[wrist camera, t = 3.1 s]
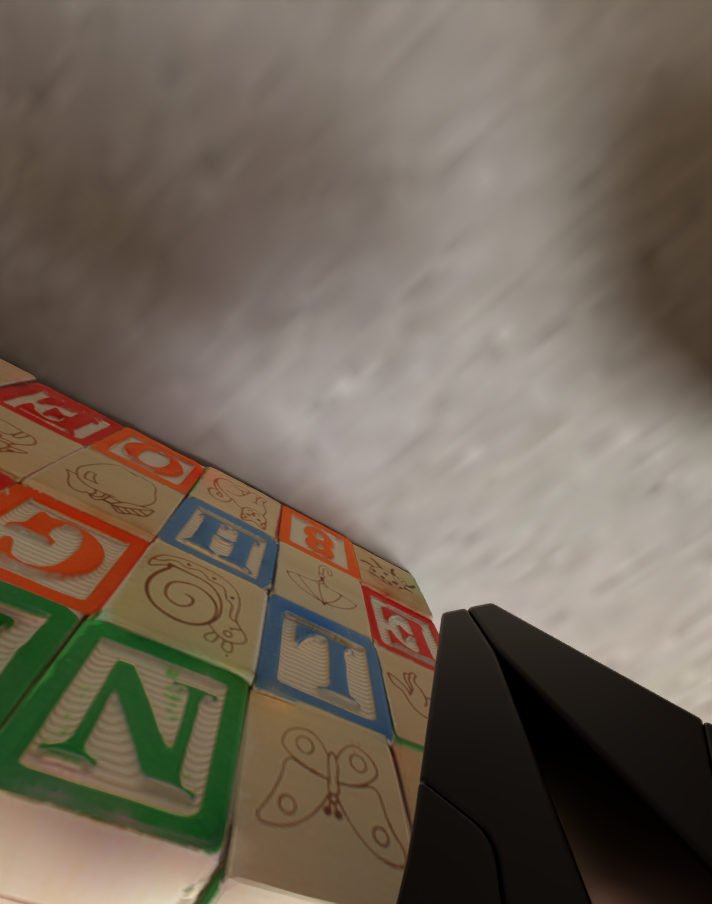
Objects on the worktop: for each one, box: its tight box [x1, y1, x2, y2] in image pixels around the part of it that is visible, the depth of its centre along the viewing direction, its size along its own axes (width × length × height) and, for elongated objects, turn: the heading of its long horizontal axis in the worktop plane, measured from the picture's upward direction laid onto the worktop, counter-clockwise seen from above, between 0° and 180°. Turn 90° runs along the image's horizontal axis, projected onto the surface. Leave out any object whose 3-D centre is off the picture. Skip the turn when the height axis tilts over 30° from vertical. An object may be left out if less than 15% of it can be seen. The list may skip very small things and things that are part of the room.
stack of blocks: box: [0, 358, 439, 904], centre depth 11 cm, size 21×6×12 cm, turn 58°
